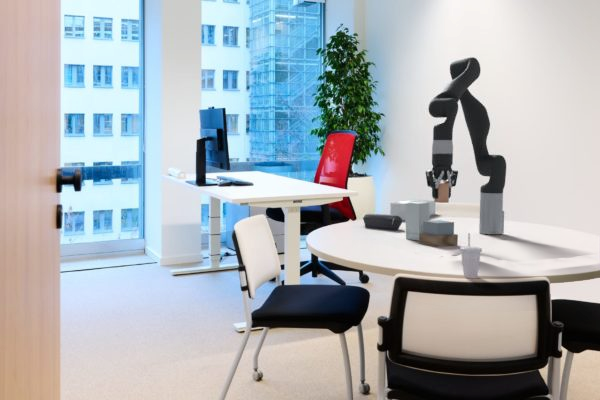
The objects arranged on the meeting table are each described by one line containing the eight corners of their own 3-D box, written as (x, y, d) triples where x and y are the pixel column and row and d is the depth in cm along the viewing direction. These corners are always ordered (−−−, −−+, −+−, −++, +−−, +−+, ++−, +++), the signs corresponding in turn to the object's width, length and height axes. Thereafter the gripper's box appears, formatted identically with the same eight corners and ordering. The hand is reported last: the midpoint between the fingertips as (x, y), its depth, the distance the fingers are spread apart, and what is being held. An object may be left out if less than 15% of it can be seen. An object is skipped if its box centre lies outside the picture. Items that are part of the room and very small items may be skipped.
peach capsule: (442, 201, 242) (442, 182, 241) (451, 202, 237) (452, 183, 237) (431, 201, 239) (431, 183, 239) (440, 202, 235) (441, 183, 234)
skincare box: (430, 240, 251) (431, 202, 250) (419, 241, 248) (419, 203, 247) (415, 238, 258) (416, 201, 257) (404, 239, 255) (404, 201, 254)
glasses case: (405, 232, 279) (405, 214, 278) (396, 234, 270) (396, 216, 269) (368, 229, 288) (368, 212, 287) (357, 231, 279) (358, 213, 278)
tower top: (439, 231, 245) (440, 220, 244) (453, 234, 237) (454, 222, 237) (423, 232, 241) (423, 221, 241) (436, 235, 234) (436, 223, 234)
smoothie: (463, 276, 197) (464, 231, 196) (484, 278, 194) (484, 232, 193) (456, 280, 192) (456, 233, 191) (477, 282, 188) (478, 235, 187)
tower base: (439, 243, 246) (440, 231, 246) (457, 246, 238) (457, 234, 237) (419, 244, 242) (419, 232, 242) (436, 248, 233) (436, 235, 233)
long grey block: (410, 227, 300) (411, 204, 299) (390, 225, 306) (390, 203, 305) (435, 221, 327) (435, 200, 326) (415, 220, 333) (415, 199, 332)
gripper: (450, 152, 244) (449, 197, 245) (420, 152, 237) (419, 198, 238) (464, 152, 237) (463, 198, 238) (433, 152, 230) (432, 199, 231)
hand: (441, 198), depth 238 cm, fingers closed on peach capsule, 5 cm apart
